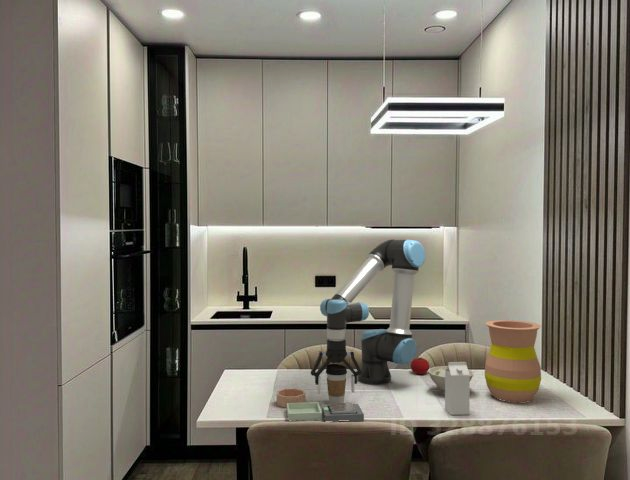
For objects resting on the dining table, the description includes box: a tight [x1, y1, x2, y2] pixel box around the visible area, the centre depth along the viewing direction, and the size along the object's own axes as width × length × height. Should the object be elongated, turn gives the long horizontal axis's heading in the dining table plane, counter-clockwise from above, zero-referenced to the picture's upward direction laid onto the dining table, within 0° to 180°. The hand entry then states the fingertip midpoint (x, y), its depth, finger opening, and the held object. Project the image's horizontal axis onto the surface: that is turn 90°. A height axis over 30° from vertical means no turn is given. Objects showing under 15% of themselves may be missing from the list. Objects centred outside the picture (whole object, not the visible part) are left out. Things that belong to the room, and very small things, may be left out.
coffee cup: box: [325, 363, 348, 404], centre depth 221 cm, size 8×8×15 cm
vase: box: [484, 319, 542, 403], centre depth 229 cm, size 22×22×30 cm
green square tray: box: [286, 401, 323, 421], centre depth 208 cm, size 12×12×3 cm
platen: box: [328, 402, 356, 415], centre depth 206 cm, size 9×9×1 cm
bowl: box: [427, 365, 474, 395], centre depth 235 cm, size 19×19×10 cm
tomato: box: [410, 357, 430, 375], centre depth 266 cm, size 9×9×8 cm
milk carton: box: [444, 361, 471, 416], centre depth 211 cm, size 7×7×19 cm
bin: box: [276, 388, 306, 409], centre depth 221 cm, size 11×11×4 cm
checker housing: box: [321, 403, 365, 422], centre depth 206 cm, size 14×12×3 cm
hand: (336, 392), depth 221 cm, fingers open, 13 cm apart
